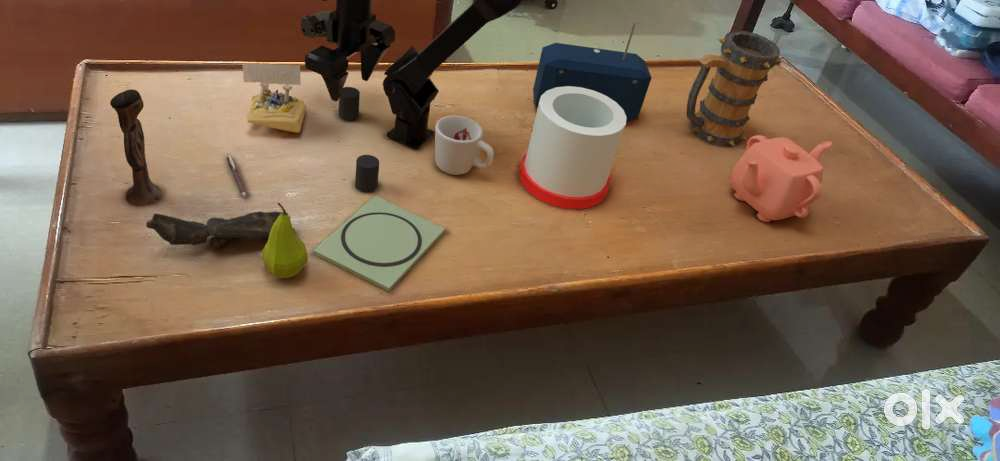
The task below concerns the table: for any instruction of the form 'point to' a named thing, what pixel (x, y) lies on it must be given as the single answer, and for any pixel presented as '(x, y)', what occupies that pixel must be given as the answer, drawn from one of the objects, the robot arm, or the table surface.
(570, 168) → the container
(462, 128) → the cup
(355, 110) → the stamp
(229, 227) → the statue
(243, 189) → the pen
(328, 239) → the board
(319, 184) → the table surface
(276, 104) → the cake
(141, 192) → the figurine
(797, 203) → the teapot
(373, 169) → the stamp
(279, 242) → the fruit
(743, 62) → the mug
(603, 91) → the radio
